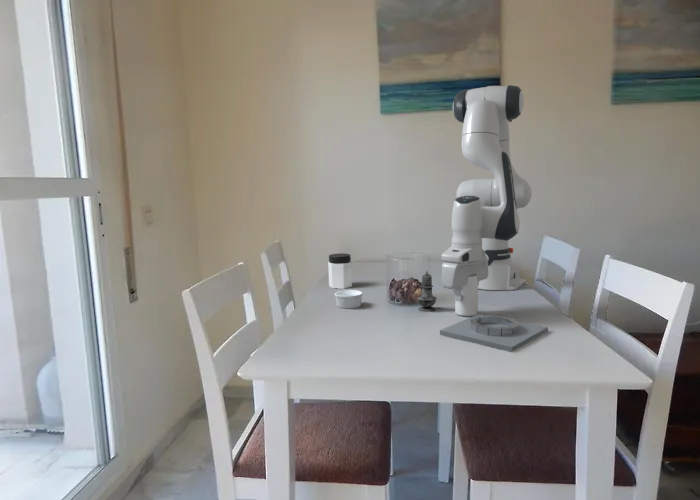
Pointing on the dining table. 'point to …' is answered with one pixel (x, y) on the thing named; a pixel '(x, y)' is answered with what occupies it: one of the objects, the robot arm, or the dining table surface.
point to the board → (500, 342)
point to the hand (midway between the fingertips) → (466, 298)
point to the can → (468, 299)
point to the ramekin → (348, 299)
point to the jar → (340, 271)
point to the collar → (494, 331)
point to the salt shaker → (427, 294)
